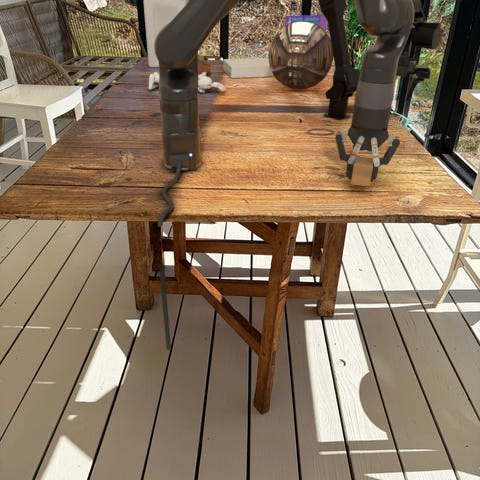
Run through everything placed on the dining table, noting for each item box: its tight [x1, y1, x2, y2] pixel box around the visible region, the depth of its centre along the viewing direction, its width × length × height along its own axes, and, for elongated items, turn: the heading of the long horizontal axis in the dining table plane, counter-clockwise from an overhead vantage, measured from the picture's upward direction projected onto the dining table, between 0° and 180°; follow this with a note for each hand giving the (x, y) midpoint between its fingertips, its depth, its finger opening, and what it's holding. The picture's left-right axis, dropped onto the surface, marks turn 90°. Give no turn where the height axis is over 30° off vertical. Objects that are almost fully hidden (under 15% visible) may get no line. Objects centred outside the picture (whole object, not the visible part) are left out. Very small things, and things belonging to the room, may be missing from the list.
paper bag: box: [143, 0, 188, 68], centre depth 223 cm, size 19×15×28 cm
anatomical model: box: [198, 53, 212, 76], centre depth 208 cm, size 13×9×15 cm
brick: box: [350, 156, 374, 187], centre depth 106 cm, size 5×4×5 cm
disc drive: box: [222, 57, 275, 79], centre depth 214 cm, size 18×22×5 cm
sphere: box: [268, 21, 334, 91], centre depth 185 cm, size 25×25×25 cm
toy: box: [148, 71, 227, 94], centre depth 184 cm, size 24×25×7 cm
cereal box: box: [284, 14, 328, 32], centre depth 210 cm, size 17×5×24 cm, turn 106°
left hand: (360, 179), depth 107 cm, fingers closed on brick, 4 cm apart
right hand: (391, 99), depth 145 cm, fingers open, 9 cm apart
